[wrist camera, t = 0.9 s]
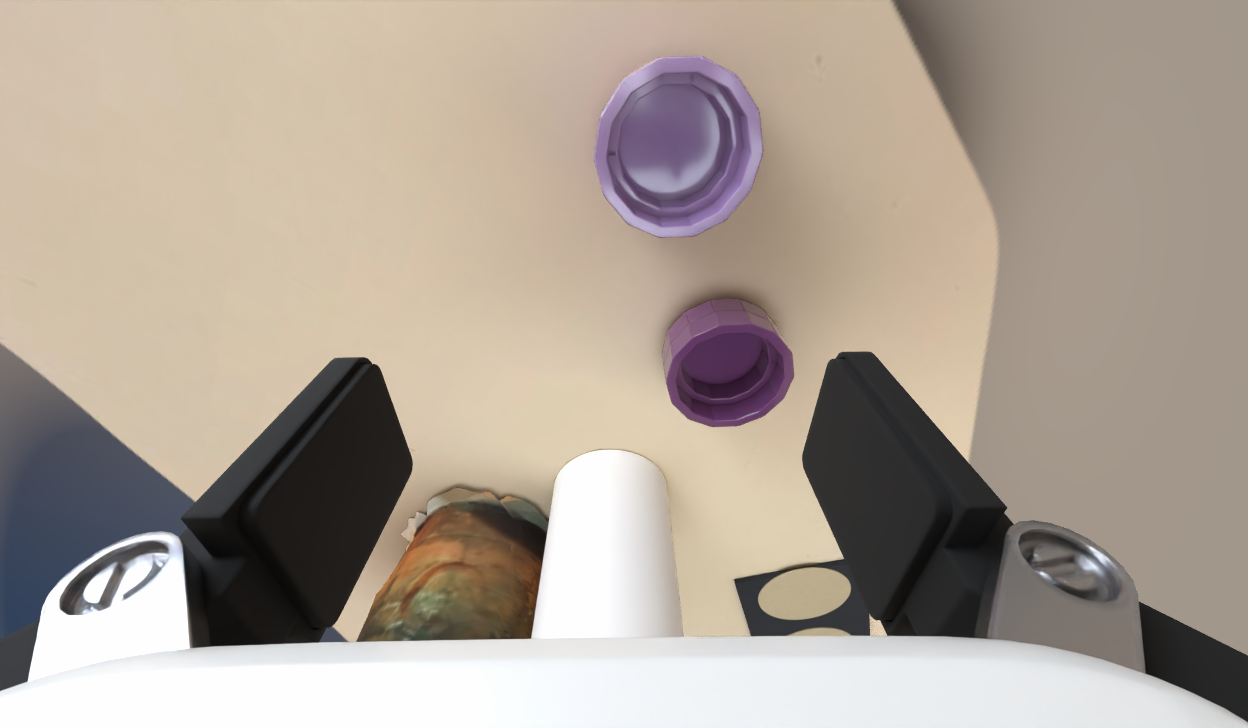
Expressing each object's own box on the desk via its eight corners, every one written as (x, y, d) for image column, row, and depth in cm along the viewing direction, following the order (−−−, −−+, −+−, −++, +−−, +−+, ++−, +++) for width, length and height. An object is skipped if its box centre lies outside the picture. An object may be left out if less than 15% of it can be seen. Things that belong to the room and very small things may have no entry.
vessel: (346, 535, 36) (115, 938, 20) (474, 455, 32) (314, 892, 15) (480, 614, 43) (392, 968, 26) (603, 557, 38) (591, 942, 22)
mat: (733, 576, 40) (734, 581, 40) (865, 551, 38) (868, 557, 38) (765, 680, 51) (766, 685, 50) (869, 665, 49) (871, 670, 49)
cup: (560, 442, 31) (516, 727, 18) (678, 457, 32) (721, 739, 19) (549, 520, 36) (508, 797, 22) (653, 531, 37) (674, 803, 23)
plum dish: (661, 296, 26) (666, 326, 23) (784, 292, 25) (805, 321, 23) (660, 393, 29) (665, 429, 26) (768, 389, 29) (784, 424, 26)
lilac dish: (591, 60, 20) (587, 61, 17) (752, 53, 19) (775, 52, 17) (601, 218, 23) (599, 240, 20) (737, 213, 23) (753, 234, 20)
